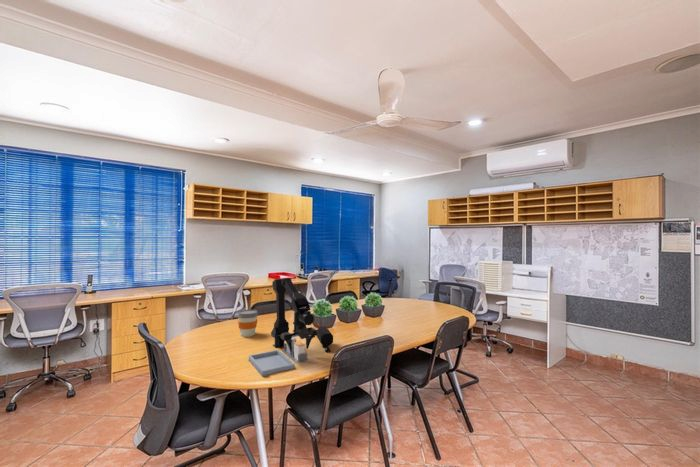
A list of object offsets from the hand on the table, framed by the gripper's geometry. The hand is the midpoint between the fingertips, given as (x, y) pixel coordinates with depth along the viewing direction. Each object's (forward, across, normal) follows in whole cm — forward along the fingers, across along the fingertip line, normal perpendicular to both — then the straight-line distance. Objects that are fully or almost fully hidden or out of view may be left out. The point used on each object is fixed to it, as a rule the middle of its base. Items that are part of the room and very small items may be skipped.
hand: (299, 350), depth 170 cm
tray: (+5, -15, +1) cm, 16 cm away
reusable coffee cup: (+5, -12, +56) cm, 57 cm away
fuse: (+4, 0, +11) cm, 12 cm away
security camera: (+5, +20, +8) cm, 22 cm away
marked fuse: (+4, 0, 0) cm, 4 cm away
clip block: (+5, 0, +5) cm, 7 cm away
